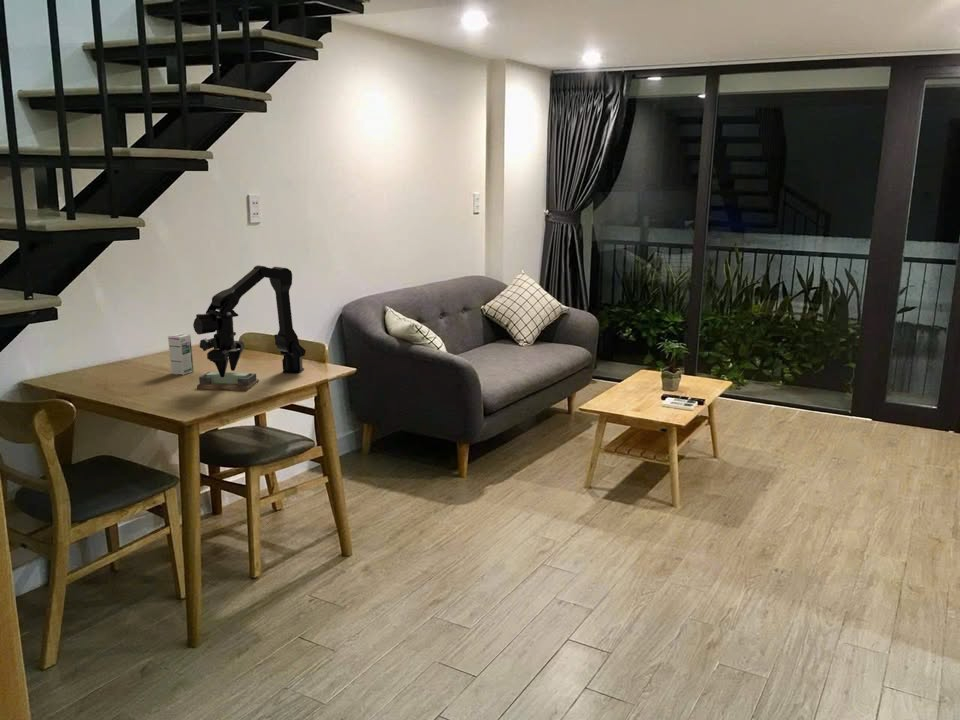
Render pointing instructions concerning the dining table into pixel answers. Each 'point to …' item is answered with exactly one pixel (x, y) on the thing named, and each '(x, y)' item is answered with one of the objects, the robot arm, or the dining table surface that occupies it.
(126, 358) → the dining table surface
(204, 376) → the frame
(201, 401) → the dining table surface
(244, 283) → the robot arm
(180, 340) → the syrup box
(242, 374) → the slat
